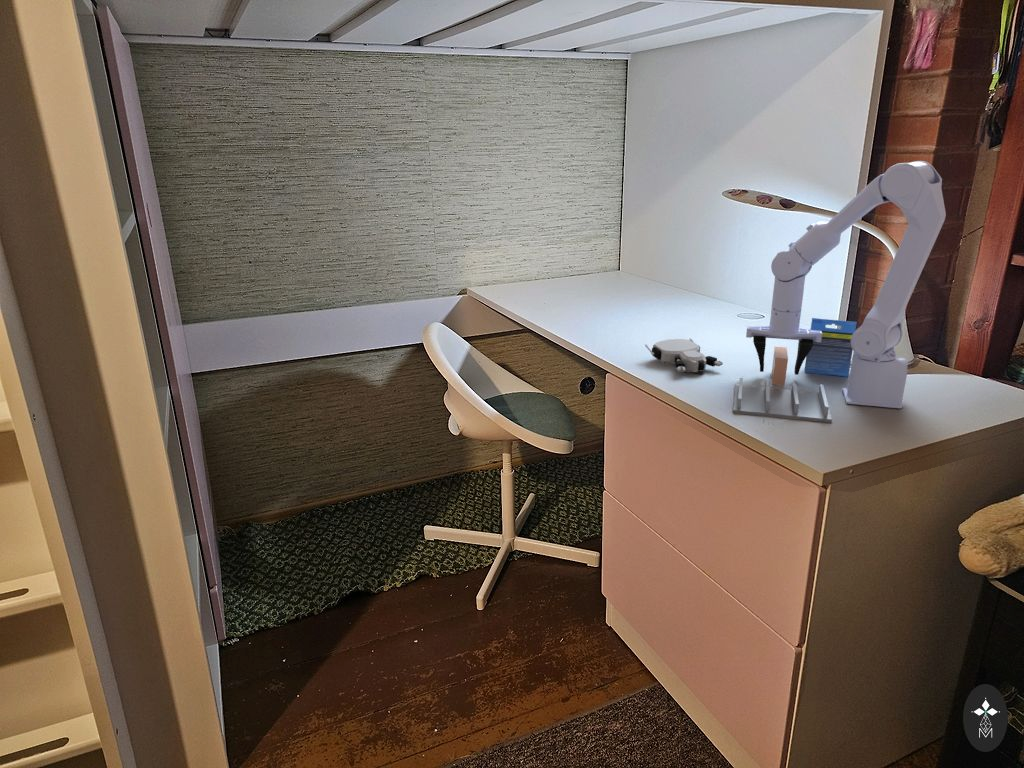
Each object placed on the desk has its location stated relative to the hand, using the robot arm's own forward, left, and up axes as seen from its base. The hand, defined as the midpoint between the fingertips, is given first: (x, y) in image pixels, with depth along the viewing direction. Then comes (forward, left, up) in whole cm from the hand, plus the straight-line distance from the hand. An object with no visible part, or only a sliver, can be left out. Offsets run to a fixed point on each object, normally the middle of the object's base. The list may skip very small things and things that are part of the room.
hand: (778, 371), depth 146 cm
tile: (0, 0, -2) cm, 2 cm away
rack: (0, +15, -2) cm, 15 cm away
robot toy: (+20, -4, -2) cm, 21 cm away
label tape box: (-10, -7, -2) cm, 12 cm away
